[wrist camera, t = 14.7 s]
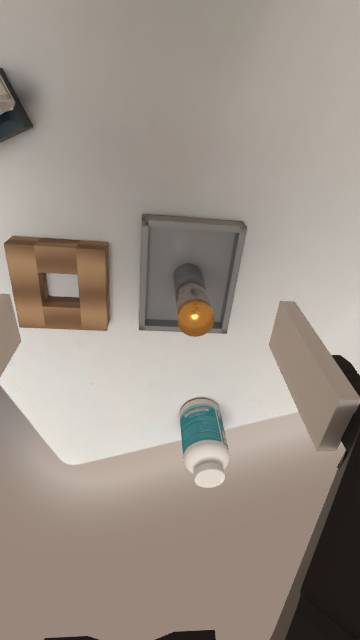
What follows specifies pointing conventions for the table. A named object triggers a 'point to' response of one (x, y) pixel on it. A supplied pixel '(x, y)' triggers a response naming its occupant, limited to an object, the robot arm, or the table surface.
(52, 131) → the table surface
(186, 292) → the pin
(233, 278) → the tray
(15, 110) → the watch
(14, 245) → the socket block
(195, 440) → the pill bottle
